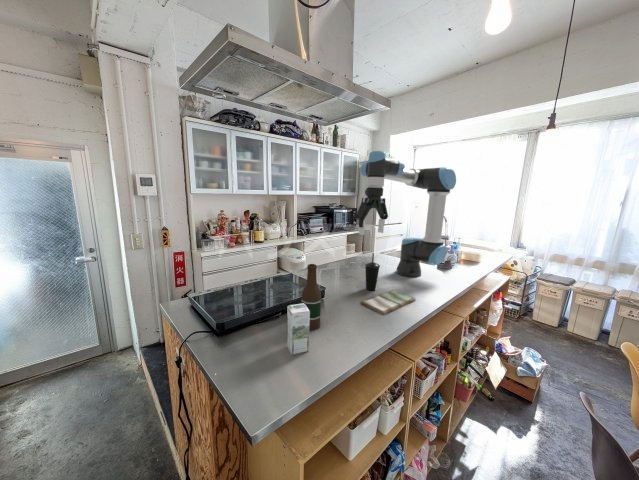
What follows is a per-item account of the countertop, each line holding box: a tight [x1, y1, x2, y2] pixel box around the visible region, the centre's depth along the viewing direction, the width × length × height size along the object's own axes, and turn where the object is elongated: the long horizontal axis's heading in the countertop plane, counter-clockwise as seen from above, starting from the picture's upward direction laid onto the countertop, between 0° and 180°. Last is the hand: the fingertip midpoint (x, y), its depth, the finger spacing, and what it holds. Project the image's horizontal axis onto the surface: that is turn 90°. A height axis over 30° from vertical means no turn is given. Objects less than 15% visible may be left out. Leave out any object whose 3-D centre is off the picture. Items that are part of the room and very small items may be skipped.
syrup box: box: [286, 303, 310, 356], centre depth 80 cm, size 6×6×14 cm
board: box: [360, 289, 416, 316], centre depth 118 cm, size 24×13×1 cm, turn 129°
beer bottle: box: [300, 263, 322, 331], centre depth 93 cm, size 8×8×24 cm
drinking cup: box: [364, 252, 381, 293], centre depth 131 cm, size 8×8×20 cm
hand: (371, 233), depth 118 cm, fingers open, 13 cm apart
